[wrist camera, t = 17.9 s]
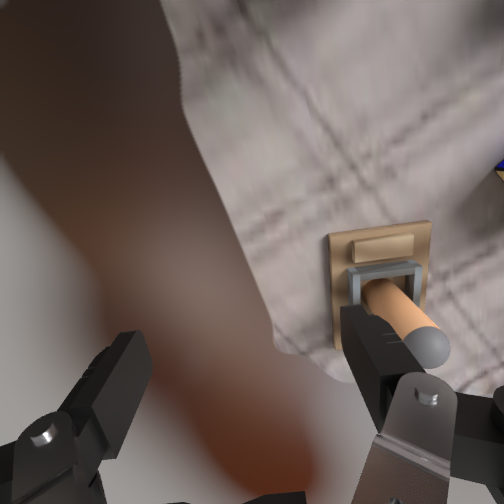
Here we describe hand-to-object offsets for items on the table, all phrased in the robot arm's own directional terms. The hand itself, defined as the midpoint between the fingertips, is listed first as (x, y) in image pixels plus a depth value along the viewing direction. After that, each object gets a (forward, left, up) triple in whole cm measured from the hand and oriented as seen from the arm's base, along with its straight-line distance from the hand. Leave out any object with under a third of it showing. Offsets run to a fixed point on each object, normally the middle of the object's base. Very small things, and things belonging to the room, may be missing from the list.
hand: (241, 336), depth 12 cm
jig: (-4, +24, -30) cm, 39 cm away
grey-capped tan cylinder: (-4, +24, -29) cm, 38 cm away
